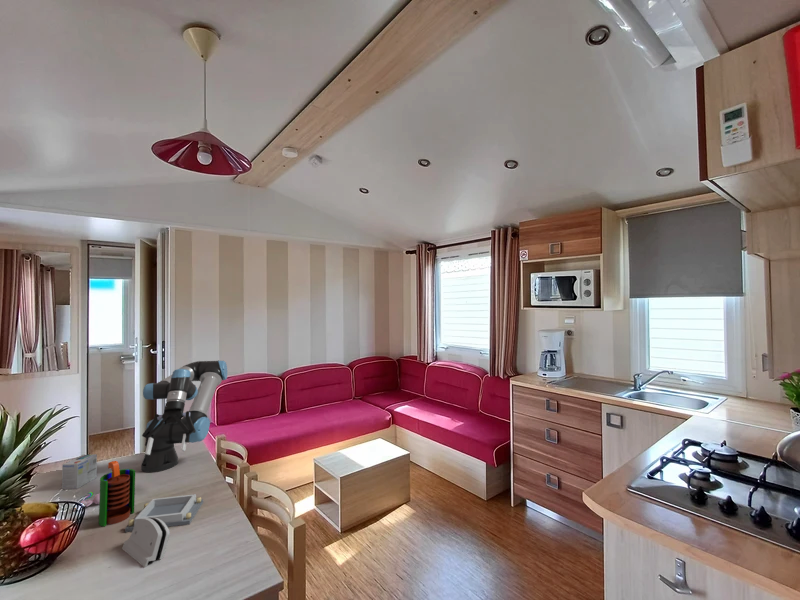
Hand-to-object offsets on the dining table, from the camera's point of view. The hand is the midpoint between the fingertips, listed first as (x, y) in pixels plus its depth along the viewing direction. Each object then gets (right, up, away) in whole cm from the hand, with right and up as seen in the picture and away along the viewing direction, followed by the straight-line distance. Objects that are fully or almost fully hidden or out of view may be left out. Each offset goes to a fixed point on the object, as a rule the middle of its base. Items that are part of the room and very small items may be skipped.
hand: (165, 452), depth 151 cm
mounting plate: (+13, -15, -19) cm, 28 cm away
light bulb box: (-43, -17, +8) cm, 47 cm away
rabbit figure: (-21, -16, -10) cm, 28 cm away
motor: (-5, -16, -20) cm, 26 cm away
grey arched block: (+19, -15, -38) cm, 45 cm away
